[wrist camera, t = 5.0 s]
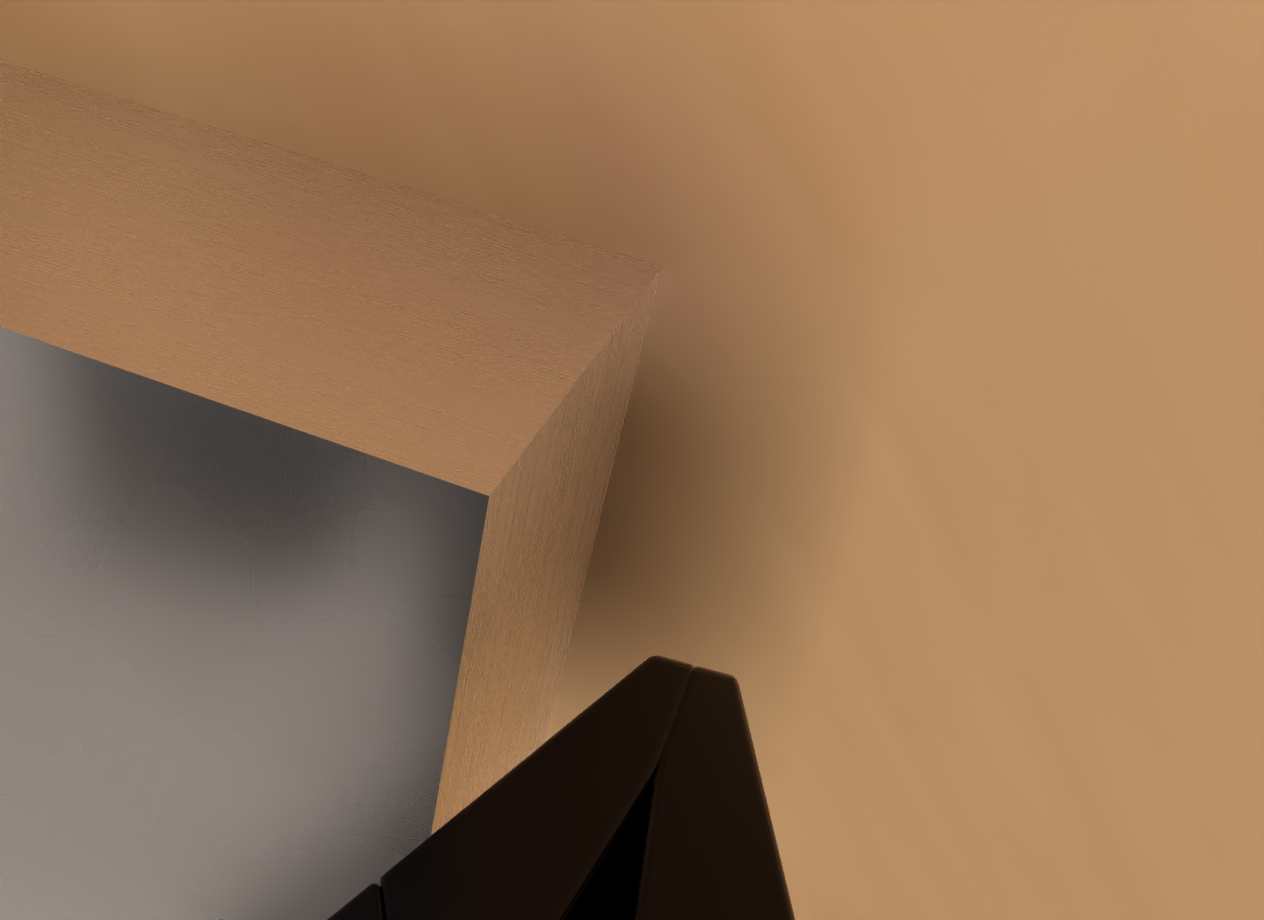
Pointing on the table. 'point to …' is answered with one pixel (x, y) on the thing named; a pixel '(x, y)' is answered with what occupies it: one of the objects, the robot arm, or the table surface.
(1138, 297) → the table surface
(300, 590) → the block
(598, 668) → the table surface
